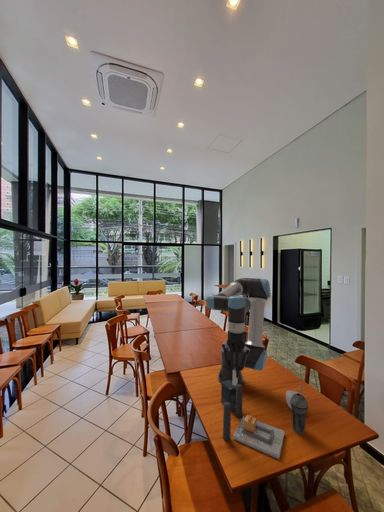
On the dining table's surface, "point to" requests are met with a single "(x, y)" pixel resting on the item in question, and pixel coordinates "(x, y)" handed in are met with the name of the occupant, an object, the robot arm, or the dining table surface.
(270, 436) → the breaker panel
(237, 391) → the cord post
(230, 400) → the box
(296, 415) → the beverage cup
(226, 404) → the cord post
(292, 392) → the cup
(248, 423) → the block
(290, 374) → the dining table surface
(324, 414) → the dining table surface
